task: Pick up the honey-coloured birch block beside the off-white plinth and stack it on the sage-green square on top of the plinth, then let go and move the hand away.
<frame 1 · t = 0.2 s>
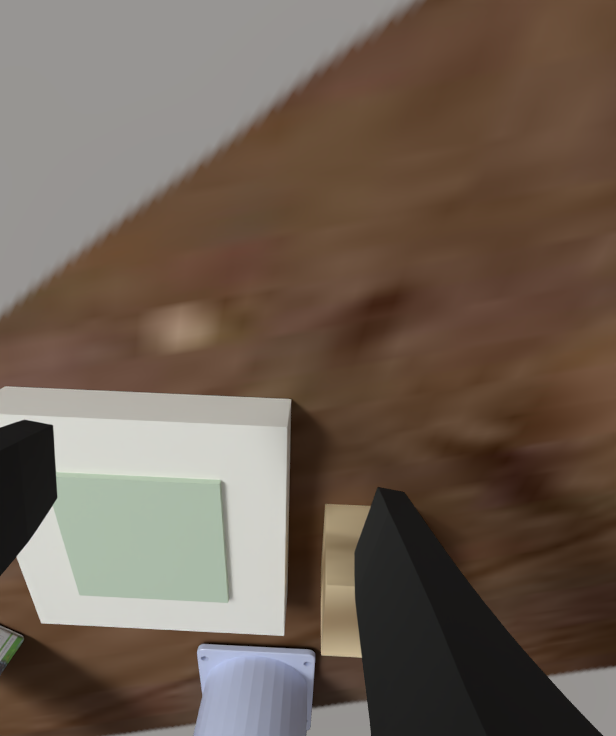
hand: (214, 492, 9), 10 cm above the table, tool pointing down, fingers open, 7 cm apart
birch block: (366, 538, 23), on the table
base plinth: (164, 503, 22), on the table
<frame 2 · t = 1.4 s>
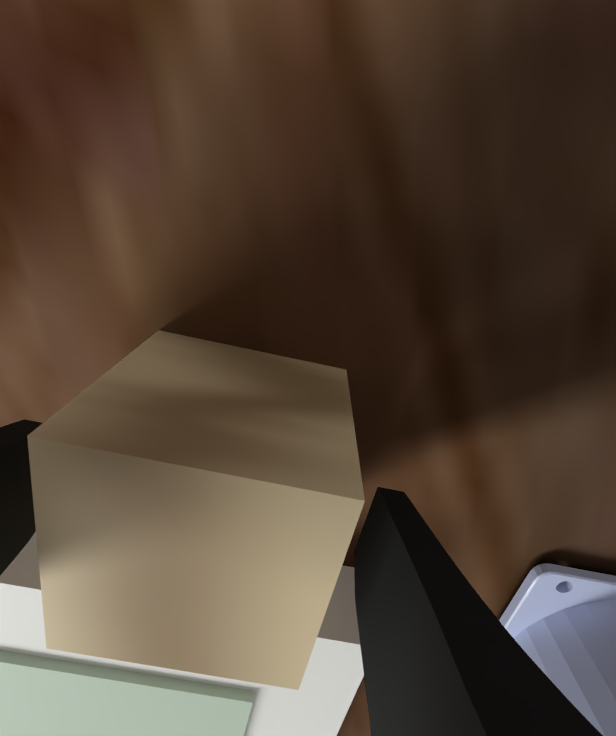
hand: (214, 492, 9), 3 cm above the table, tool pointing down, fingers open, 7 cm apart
birch block: (240, 427, 11), on the table
base plinth: (150, 659, 16), on the table
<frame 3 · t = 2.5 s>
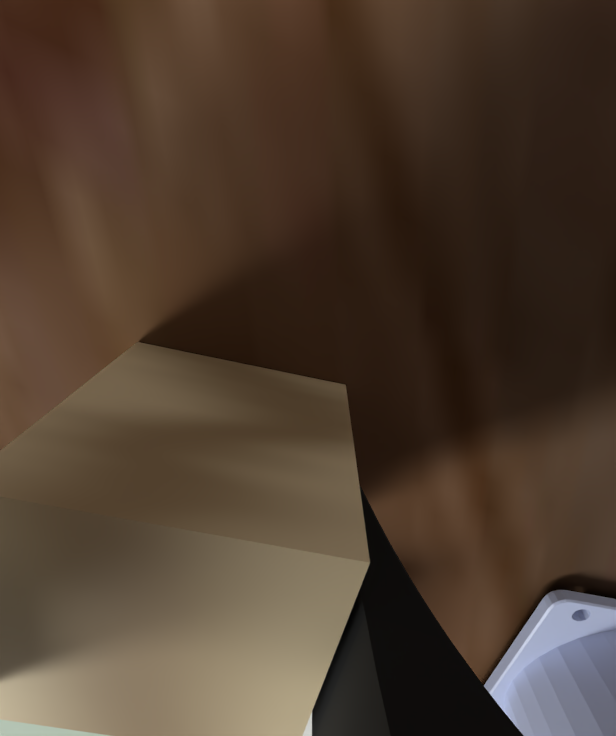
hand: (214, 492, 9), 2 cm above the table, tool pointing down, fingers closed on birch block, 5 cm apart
birch block: (229, 449, 10), on the table, touching gripper
base plinth: (137, 687, 15), on the table
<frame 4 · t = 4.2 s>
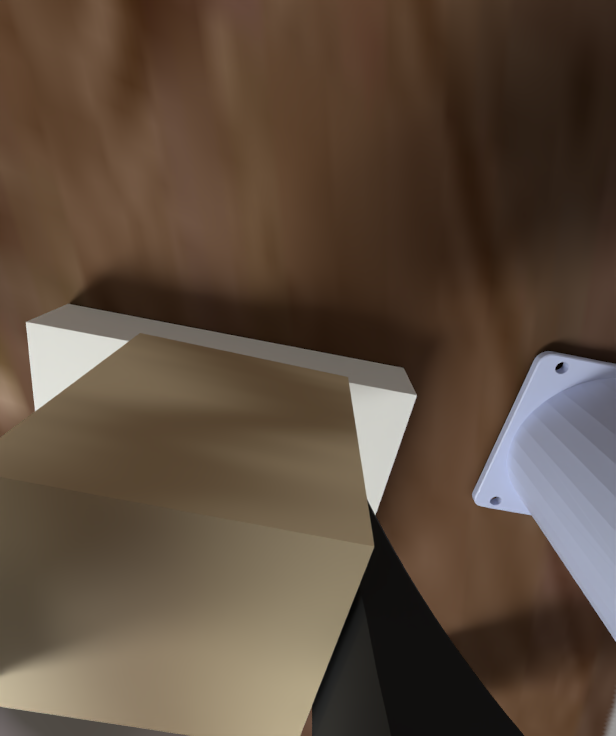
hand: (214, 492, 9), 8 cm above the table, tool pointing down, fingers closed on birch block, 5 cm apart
birch block: (231, 441, 10), point 7 cm above the table, touching gripper
base plinth: (222, 470, 19), on the table
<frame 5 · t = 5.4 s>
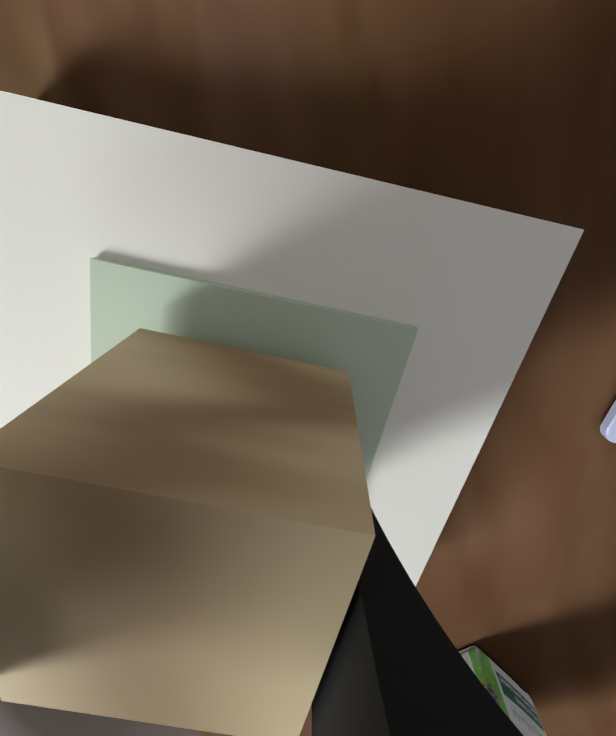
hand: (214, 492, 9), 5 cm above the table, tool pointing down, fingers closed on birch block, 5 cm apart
syrup box: (453, 685, 20), on the table
birch block: (231, 437, 10), point 3 cm above the table, touching gripper
base plinth: (251, 388, 14), on the table
when the fingers open (5 cm above the table, at t = 6.3 s): birch block stays where it is, resting on base plinth.
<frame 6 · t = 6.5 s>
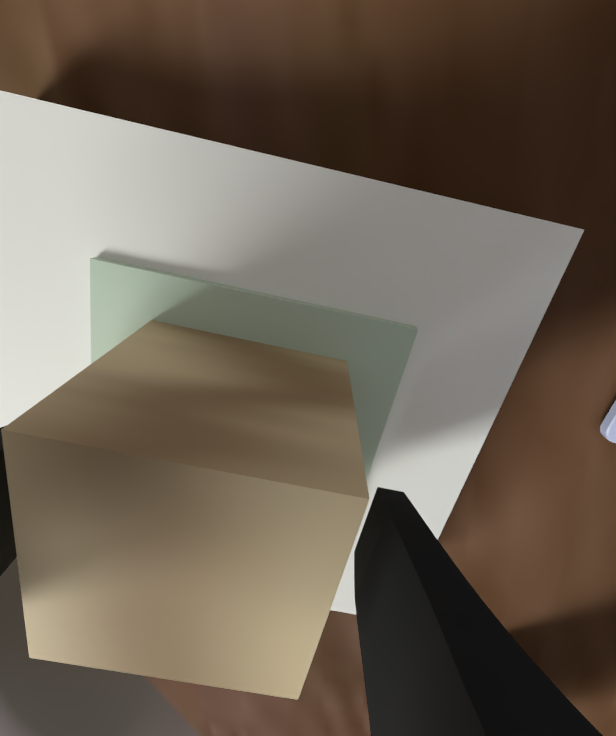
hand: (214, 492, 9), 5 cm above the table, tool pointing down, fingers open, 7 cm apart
birch block: (237, 423, 11), point 3 cm above the table, touching base plinth
base plinth: (251, 388, 14), on the table
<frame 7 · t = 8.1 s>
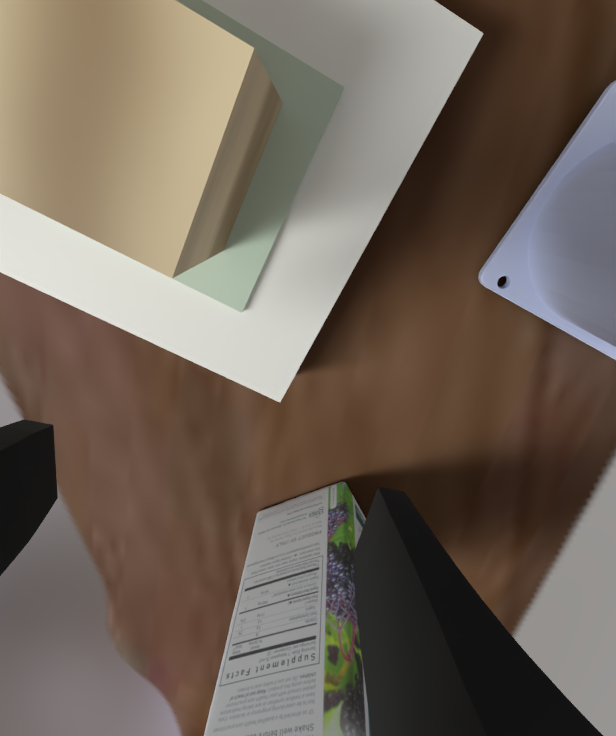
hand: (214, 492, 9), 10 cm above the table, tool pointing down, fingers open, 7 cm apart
syrup box: (319, 526, 23), on the table
birch block: (180, 143, 13), point 3 cm above the table, touching base plinth
base plinth: (202, 160, 15), on the table
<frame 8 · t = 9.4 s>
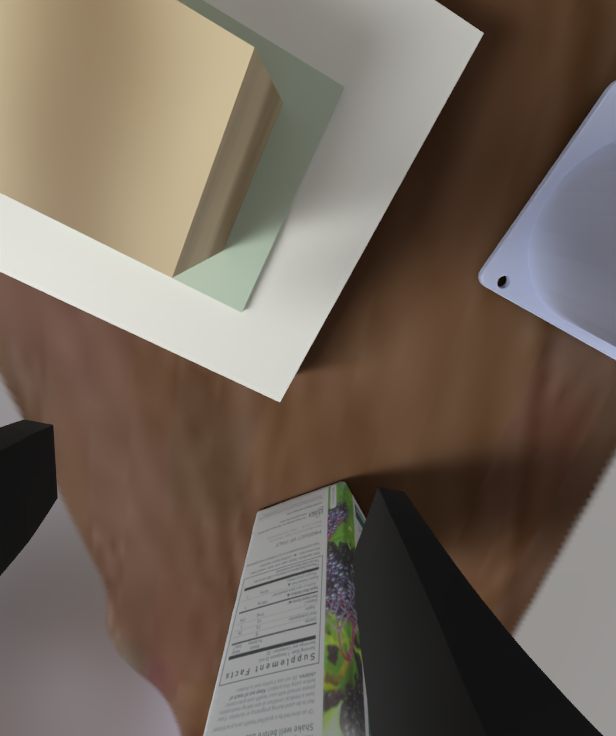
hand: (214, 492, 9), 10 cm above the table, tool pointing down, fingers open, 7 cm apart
syrup box: (318, 526, 23), on the table
birch block: (180, 143, 13), point 3 cm above the table, touching base plinth
base plinth: (203, 159, 15), on the table
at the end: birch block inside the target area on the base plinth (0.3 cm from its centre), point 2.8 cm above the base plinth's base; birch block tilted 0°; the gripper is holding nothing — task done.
